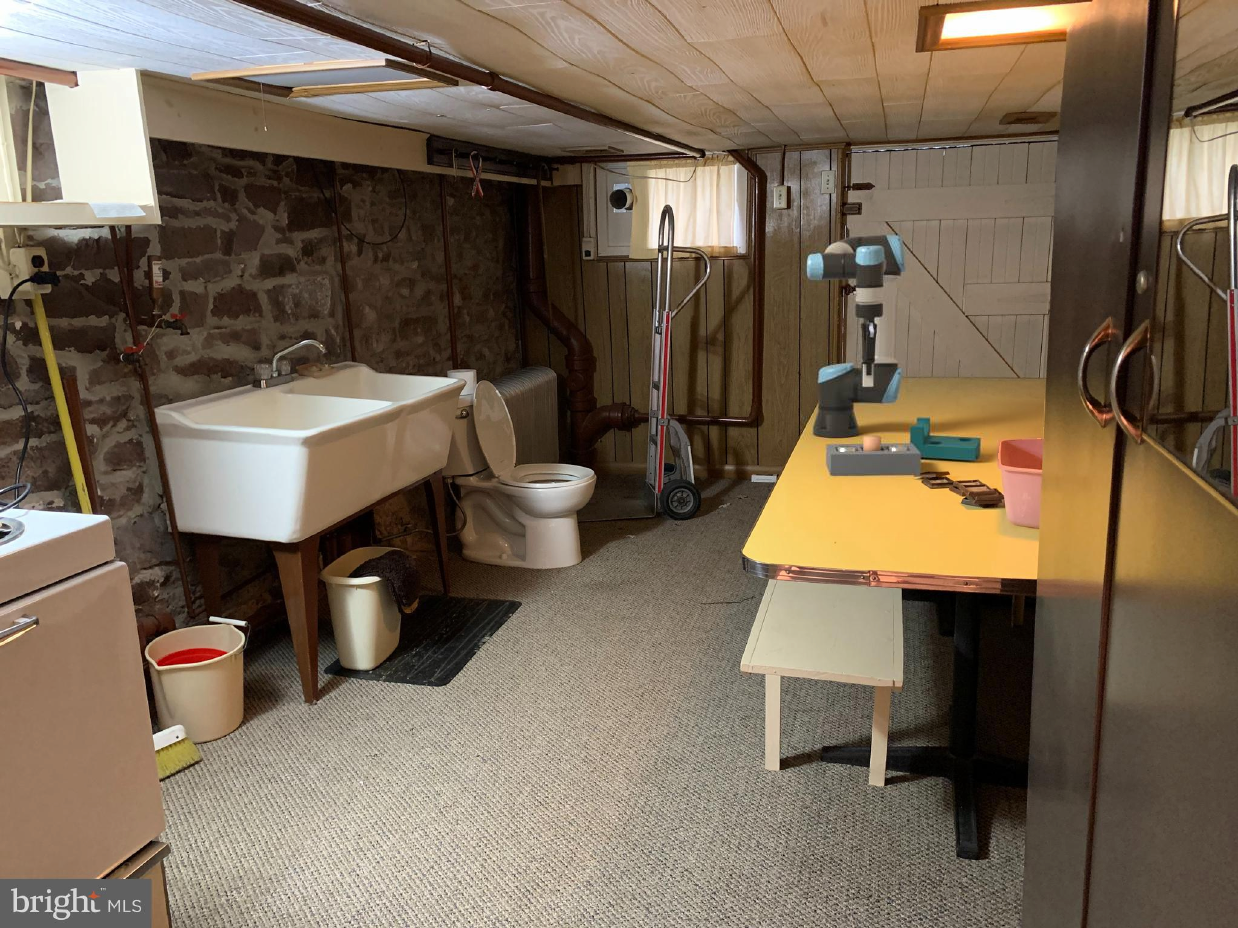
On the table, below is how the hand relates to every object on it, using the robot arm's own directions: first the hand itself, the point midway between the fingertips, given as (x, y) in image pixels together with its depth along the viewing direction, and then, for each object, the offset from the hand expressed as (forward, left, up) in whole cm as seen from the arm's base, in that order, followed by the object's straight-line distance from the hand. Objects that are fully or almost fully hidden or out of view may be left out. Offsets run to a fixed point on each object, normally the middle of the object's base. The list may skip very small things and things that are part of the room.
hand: (867, 386), depth 269 cm
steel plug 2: (+9, +7, -22) cm, 25 cm away
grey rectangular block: (+9, 0, -23) cm, 24 cm away
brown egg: (+9, 0, -19) cm, 21 cm away
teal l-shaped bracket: (-6, +23, -23) cm, 33 cm away
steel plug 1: (+9, -7, -22) cm, 25 cm away
